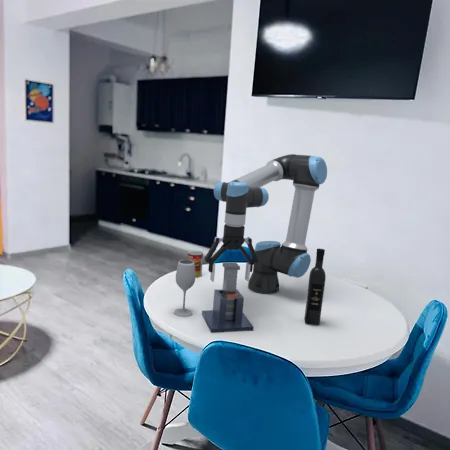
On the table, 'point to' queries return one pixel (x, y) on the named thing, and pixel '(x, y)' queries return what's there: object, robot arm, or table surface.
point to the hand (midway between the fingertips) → (229, 280)
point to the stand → (218, 314)
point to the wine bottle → (315, 291)
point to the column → (230, 287)
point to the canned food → (196, 261)
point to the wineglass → (185, 282)
